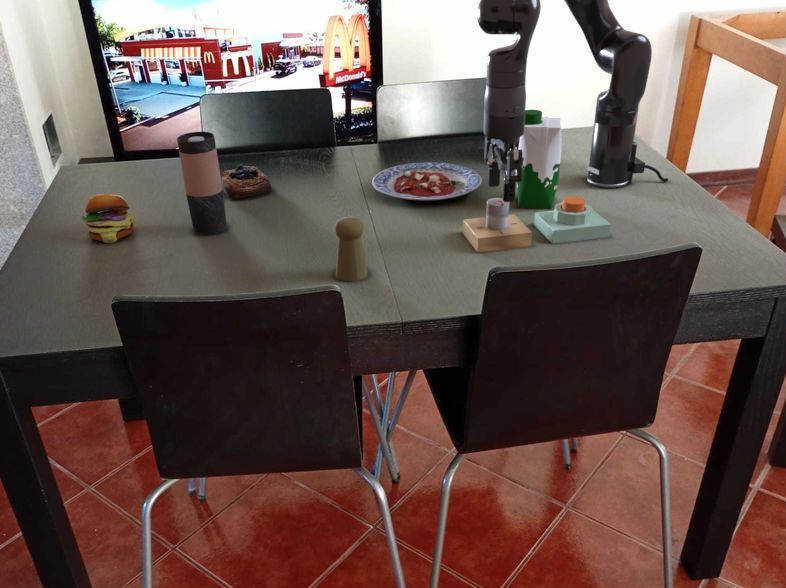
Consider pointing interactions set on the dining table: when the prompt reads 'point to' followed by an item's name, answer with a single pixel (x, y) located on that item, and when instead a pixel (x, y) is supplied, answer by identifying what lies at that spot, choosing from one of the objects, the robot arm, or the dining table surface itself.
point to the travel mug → (202, 182)
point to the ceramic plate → (426, 181)
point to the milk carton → (539, 160)
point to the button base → (571, 225)
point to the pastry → (245, 183)
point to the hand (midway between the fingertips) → (501, 193)
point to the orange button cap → (573, 204)
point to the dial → (497, 214)
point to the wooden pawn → (350, 250)
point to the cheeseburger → (108, 218)
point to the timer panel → (496, 234)
